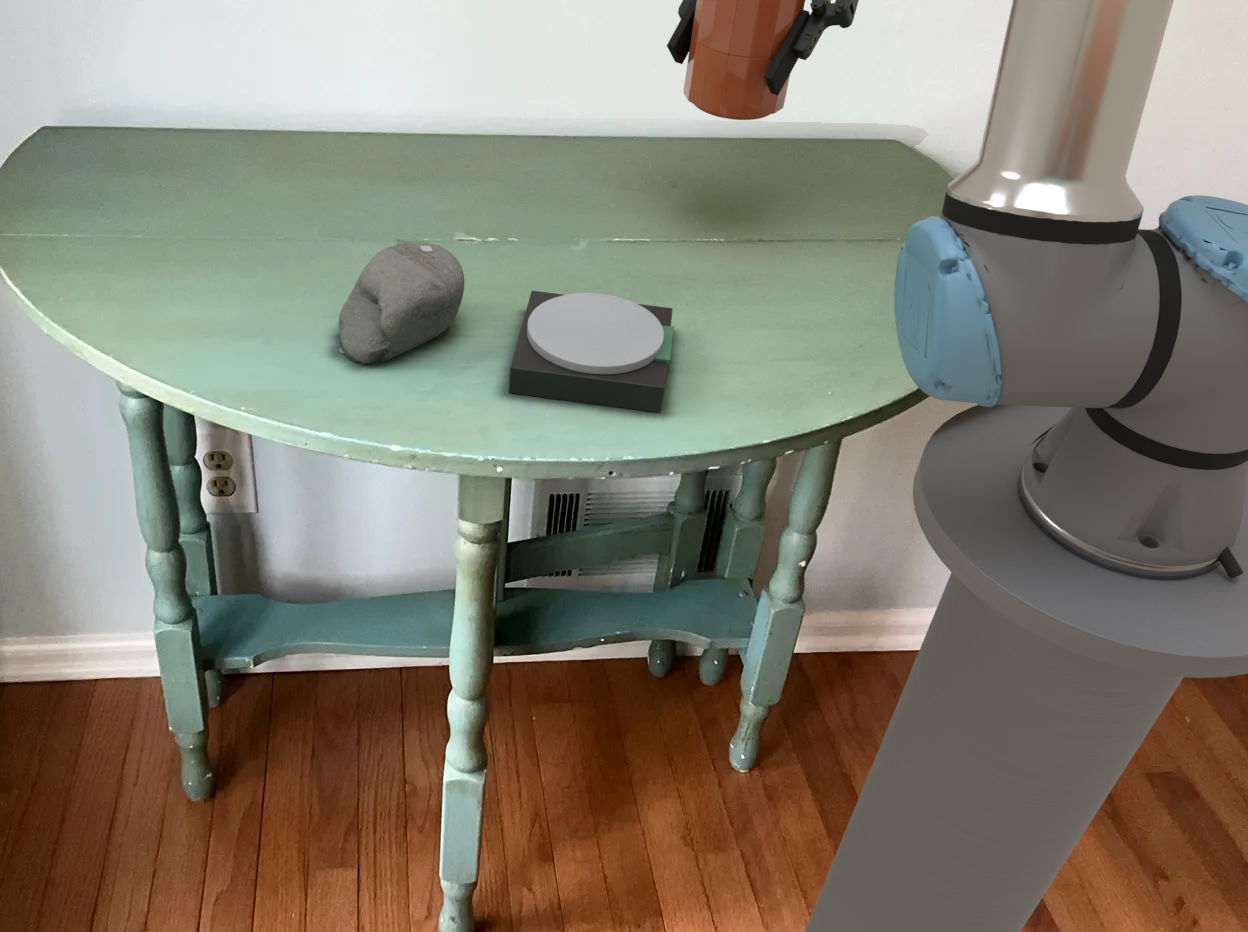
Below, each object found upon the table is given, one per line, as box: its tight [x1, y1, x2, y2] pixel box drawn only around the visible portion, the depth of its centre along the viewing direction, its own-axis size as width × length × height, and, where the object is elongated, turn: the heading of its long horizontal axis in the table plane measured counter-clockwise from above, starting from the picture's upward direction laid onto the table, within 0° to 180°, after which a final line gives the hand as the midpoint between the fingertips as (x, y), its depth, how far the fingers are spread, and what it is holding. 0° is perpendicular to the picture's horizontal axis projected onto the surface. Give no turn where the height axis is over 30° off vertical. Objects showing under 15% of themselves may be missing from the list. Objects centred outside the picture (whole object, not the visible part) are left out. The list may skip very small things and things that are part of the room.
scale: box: [508, 290, 674, 413], centre depth 96 cm, size 12×12×3 cm
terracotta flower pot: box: [682, 0, 806, 121], centre depth 106 cm, size 9×9×11 cm
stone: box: [337, 241, 465, 365], centre depth 98 cm, size 9×9×10 cm
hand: (721, 70), depth 105 cm, fingers closed on terracotta flower pot, 9 cm apart
